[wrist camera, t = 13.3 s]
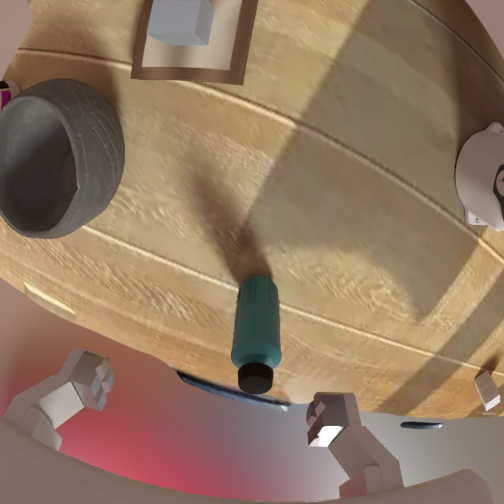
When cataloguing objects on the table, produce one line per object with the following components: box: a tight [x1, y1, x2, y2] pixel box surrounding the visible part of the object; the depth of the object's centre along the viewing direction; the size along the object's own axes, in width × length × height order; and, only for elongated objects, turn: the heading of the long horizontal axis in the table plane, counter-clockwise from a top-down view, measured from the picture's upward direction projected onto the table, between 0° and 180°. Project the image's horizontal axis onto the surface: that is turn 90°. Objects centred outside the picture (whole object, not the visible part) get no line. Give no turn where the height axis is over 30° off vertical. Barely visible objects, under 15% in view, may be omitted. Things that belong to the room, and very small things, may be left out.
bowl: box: [0, 78, 125, 239], centre depth 31 cm, size 21×21×15 cm
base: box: [131, 0, 258, 86], centre depth 28 cm, size 14×14×4 cm
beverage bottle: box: [231, 276, 281, 394], centre depth 39 cm, size 6×7×20 cm
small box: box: [474, 370, 500, 411], centre depth 58 cm, size 8×6×10 cm
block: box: [146, 0, 215, 46], centre depth 23 cm, size 5×5×7 cm
